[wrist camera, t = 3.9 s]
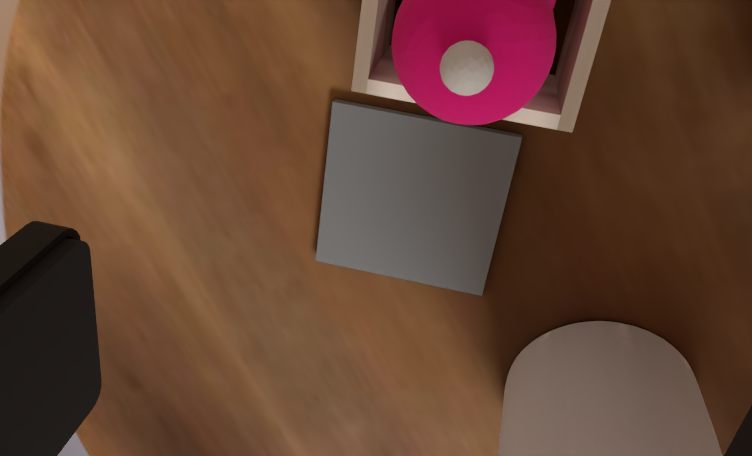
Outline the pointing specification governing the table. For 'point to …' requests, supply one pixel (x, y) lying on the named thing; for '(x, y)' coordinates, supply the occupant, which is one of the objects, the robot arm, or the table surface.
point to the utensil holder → (603, 396)
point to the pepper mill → (473, 55)
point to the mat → (413, 195)
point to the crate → (545, 109)
